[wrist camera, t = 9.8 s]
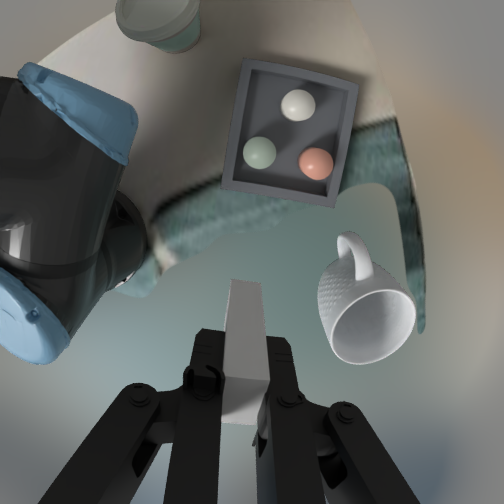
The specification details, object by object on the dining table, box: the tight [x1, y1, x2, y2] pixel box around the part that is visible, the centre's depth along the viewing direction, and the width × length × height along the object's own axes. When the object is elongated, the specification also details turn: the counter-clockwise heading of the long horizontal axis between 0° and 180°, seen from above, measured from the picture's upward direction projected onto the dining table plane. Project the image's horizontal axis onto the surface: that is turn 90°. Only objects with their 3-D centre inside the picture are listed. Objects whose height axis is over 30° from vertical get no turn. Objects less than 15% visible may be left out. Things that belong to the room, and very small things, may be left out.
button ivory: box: [280, 89, 315, 122], centre depth 30 cm, size 4×4×3 cm
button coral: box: [297, 147, 333, 180], centre depth 33 cm, size 4×4×3 cm
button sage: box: [243, 137, 276, 169], centre depth 32 cm, size 4×4×3 cm
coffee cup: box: [115, 0, 201, 53], centre depth 23 cm, size 8×9×12 cm
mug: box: [317, 232, 416, 364], centre depth 36 cm, size 15×11×13 cm
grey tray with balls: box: [221, 58, 359, 208], centre depth 33 cm, size 14×16×3 cm
